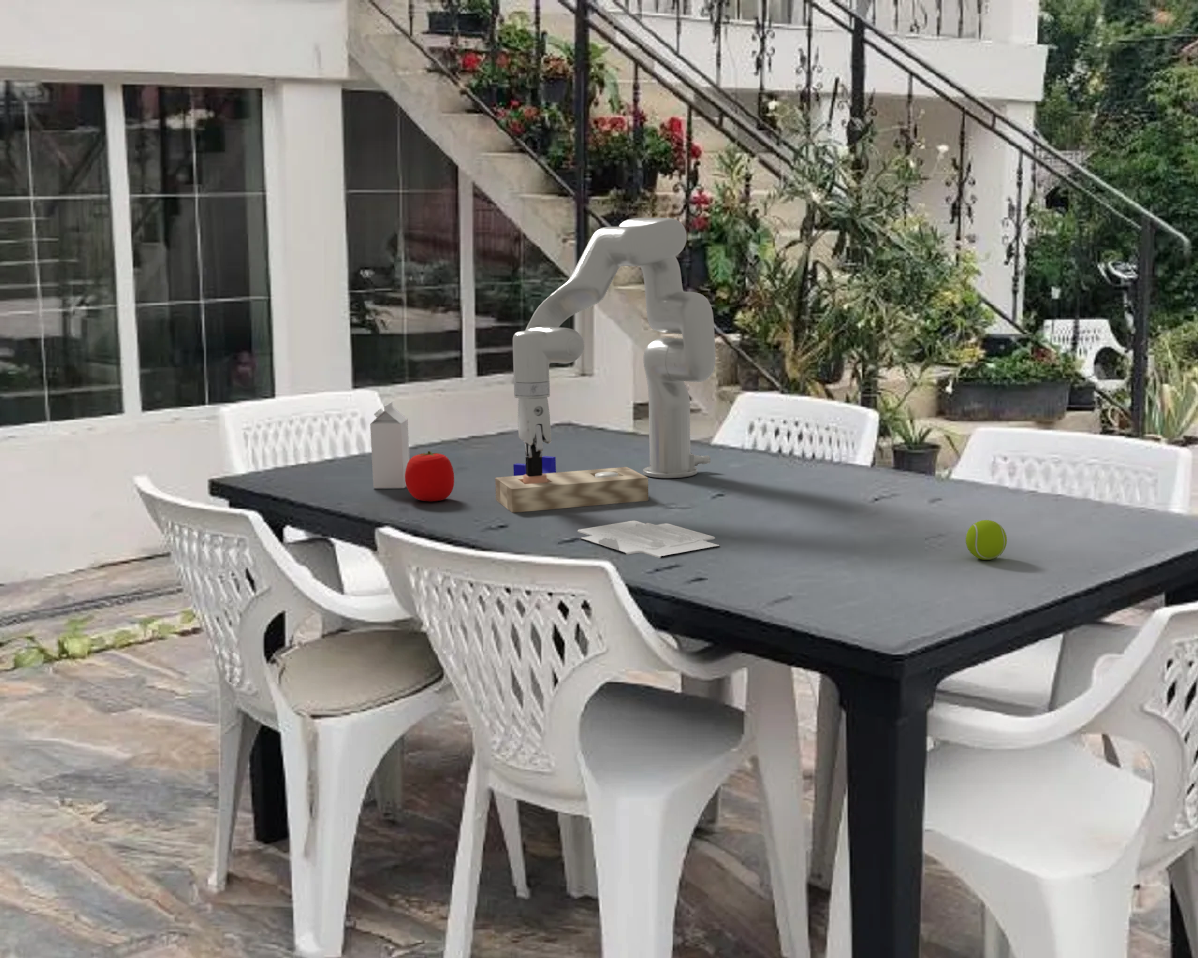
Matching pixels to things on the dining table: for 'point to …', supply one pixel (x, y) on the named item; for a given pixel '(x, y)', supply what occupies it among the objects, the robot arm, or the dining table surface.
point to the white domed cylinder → (606, 474)
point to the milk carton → (389, 448)
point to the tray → (647, 538)
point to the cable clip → (547, 466)
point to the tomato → (429, 477)
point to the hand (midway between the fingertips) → (534, 475)
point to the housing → (572, 490)
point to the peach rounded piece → (534, 479)
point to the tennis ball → (986, 539)
